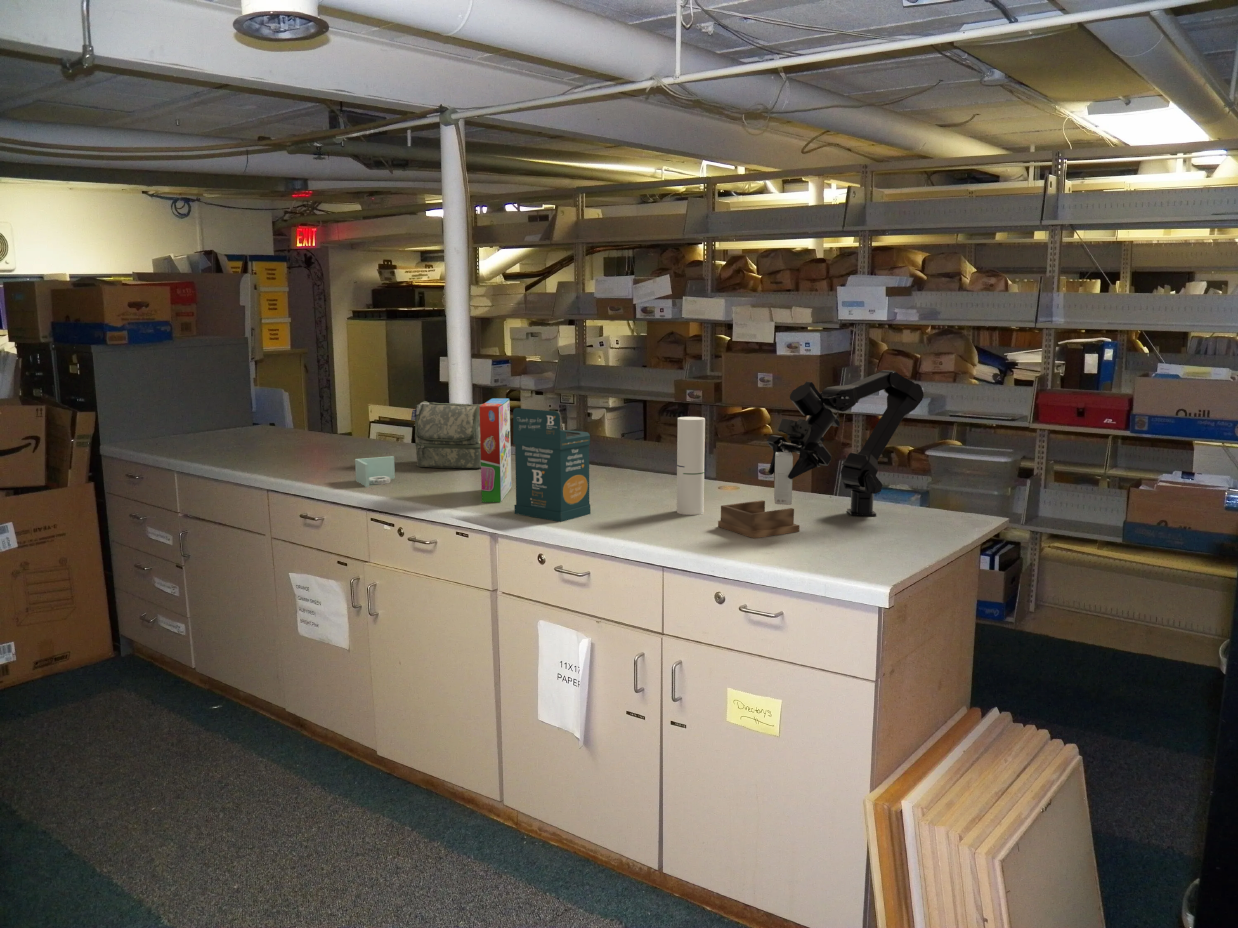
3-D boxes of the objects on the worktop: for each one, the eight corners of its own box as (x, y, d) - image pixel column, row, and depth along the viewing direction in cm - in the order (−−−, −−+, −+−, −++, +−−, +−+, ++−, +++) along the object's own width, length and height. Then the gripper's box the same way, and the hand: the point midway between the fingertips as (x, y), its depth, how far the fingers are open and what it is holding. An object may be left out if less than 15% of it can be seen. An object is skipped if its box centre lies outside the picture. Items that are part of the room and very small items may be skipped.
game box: (493, 488, 282) (491, 398, 278) (511, 488, 282) (510, 398, 278) (481, 502, 262) (479, 405, 257) (501, 502, 262) (499, 405, 257)
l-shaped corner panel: (366, 489, 285) (365, 464, 283) (356, 482, 295) (355, 459, 294) (405, 485, 290) (404, 461, 289) (394, 479, 301) (393, 456, 299)
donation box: (514, 513, 248) (512, 407, 243) (554, 503, 261) (553, 402, 256) (561, 522, 238) (560, 411, 234) (600, 511, 251) (600, 406, 246)
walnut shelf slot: (762, 520, 240) (763, 499, 239) (799, 531, 228) (800, 509, 227) (718, 526, 233) (718, 504, 232) (753, 538, 221) (754, 515, 220)
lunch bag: (407, 468, 319) (404, 403, 315) (430, 459, 336) (428, 398, 333) (479, 471, 313) (478, 405, 309) (499, 462, 330) (497, 400, 327)
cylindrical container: (688, 508, 255) (690, 416, 251) (709, 512, 250) (710, 418, 246) (671, 511, 250) (671, 418, 246) (691, 516, 245) (692, 420, 241)
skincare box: (792, 505, 230) (794, 456, 228) (773, 504, 231) (776, 455, 229) (790, 499, 236) (793, 452, 234) (772, 498, 237) (775, 451, 235)
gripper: (773, 403, 239) (737, 450, 236) (824, 410, 224) (786, 460, 220) (796, 432, 245) (761, 477, 241) (847, 440, 229) (811, 489, 225)
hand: (779, 475), depth 232 cm, fingers closed on skincare box, 7 cm apart
